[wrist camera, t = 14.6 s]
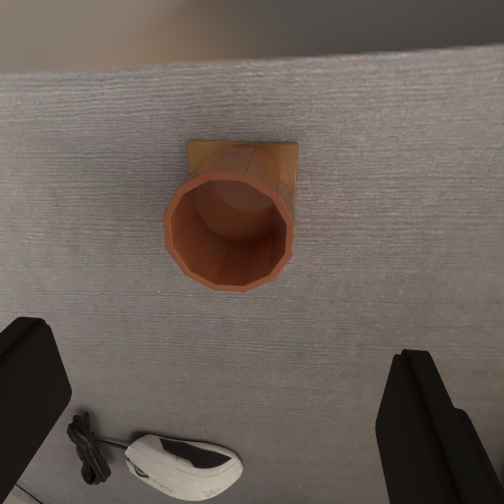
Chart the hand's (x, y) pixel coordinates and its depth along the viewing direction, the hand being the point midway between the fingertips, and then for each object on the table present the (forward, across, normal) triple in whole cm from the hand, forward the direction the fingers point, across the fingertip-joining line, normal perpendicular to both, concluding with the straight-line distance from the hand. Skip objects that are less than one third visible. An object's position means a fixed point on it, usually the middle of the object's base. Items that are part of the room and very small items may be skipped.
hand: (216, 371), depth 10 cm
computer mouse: (+16, +10, +30) cm, 36 cm away
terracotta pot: (+16, +1, +1) cm, 16 cm away
